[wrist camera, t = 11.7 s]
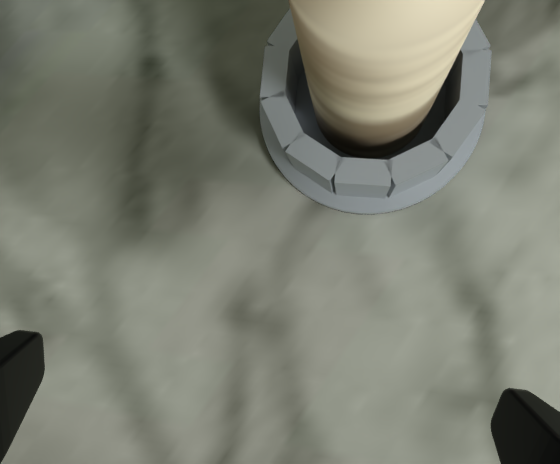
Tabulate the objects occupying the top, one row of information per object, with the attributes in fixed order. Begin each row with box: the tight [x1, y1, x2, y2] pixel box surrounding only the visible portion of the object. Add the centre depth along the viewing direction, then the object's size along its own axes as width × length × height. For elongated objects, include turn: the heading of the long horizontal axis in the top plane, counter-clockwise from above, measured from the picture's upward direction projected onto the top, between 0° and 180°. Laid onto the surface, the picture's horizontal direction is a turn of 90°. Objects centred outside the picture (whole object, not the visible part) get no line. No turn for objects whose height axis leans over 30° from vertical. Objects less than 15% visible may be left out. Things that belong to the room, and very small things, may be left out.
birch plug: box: [289, 0, 485, 159], centre depth 15 cm, size 5×5×10 cm
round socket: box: [259, 8, 492, 214], centre depth 19 cm, size 10×10×4 cm
